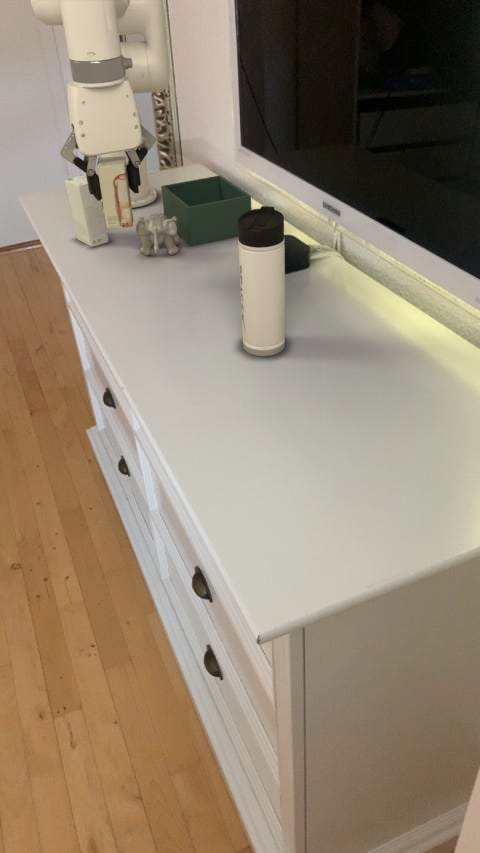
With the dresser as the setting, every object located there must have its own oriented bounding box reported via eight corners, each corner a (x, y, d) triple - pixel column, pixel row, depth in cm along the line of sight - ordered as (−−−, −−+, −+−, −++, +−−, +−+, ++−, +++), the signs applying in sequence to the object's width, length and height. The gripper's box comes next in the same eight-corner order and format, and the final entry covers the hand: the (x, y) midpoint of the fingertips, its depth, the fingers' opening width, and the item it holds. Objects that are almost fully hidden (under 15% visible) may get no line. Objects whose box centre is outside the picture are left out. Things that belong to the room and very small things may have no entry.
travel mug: (290, 337, 106) (290, 207, 94) (278, 359, 101) (276, 225, 89) (251, 332, 108) (246, 203, 96) (237, 354, 103) (230, 221, 91)
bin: (164, 221, 148) (161, 185, 143) (222, 210, 152) (220, 175, 147) (191, 246, 136) (187, 208, 132) (252, 233, 140) (251, 195, 136)
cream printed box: (133, 227, 114) (124, 164, 108) (106, 229, 114) (95, 166, 107) (134, 215, 118) (125, 154, 112) (108, 217, 118) (98, 156, 112)
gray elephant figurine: (176, 240, 139) (172, 201, 134) (195, 262, 130) (192, 222, 125) (131, 248, 137) (125, 209, 132) (147, 271, 128) (142, 231, 123)
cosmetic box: (110, 242, 140) (100, 180, 132) (90, 248, 138) (79, 186, 130) (94, 233, 144) (84, 173, 136) (75, 239, 141) (63, 179, 134)
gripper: (145, 59, 107) (158, 178, 118) (33, 73, 102) (58, 197, 113) (161, 67, 102) (174, 191, 113) (44, 83, 96) (69, 212, 108)
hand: (115, 193), depth 113 cm, fingers closed on cream printed box, 5 cm apart
